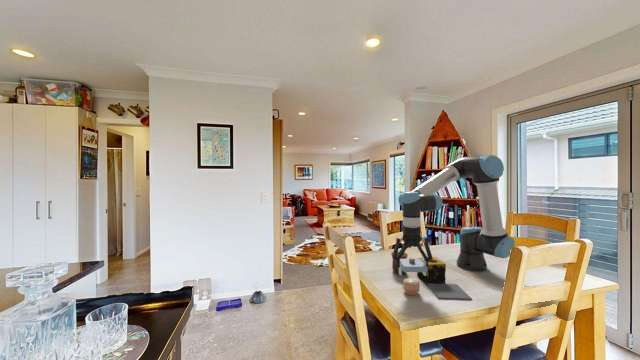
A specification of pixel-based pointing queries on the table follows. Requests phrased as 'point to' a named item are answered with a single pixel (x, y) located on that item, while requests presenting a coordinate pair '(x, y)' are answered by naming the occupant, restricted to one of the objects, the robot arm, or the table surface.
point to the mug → (395, 268)
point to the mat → (448, 291)
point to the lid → (413, 265)
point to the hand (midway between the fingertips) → (412, 274)
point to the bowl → (411, 286)
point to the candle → (434, 272)
